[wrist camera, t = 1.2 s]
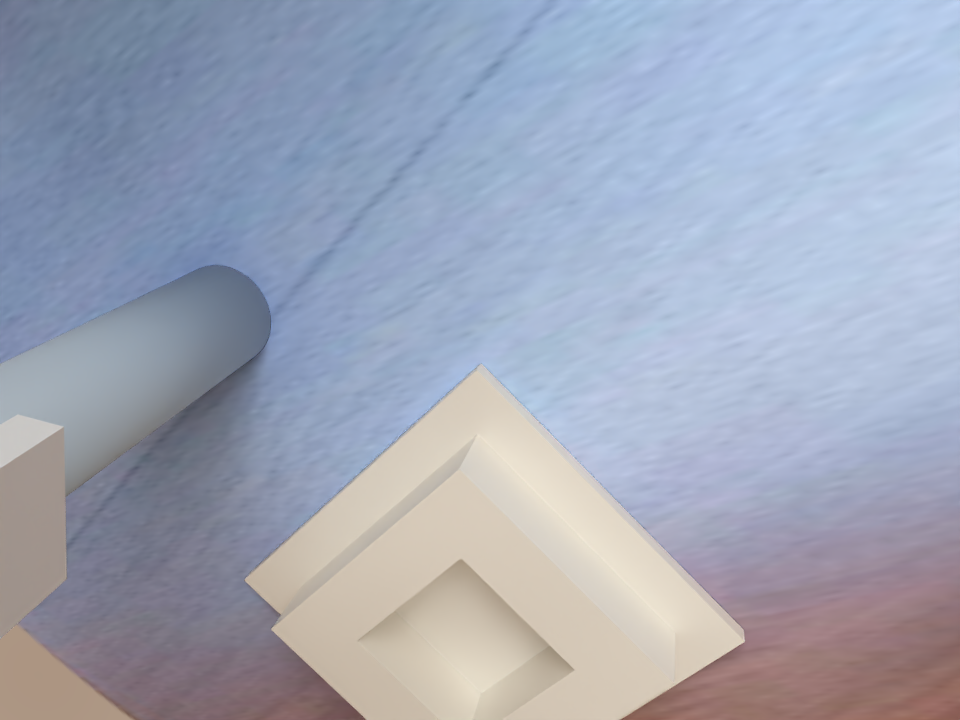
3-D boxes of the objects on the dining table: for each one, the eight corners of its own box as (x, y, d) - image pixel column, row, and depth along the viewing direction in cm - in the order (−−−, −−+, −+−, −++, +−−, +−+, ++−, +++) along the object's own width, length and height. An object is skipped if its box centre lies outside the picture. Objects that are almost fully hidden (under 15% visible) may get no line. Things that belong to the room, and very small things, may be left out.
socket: (251, 570, 43) (210, 621, 39) (480, 363, 37) (457, 399, 33) (485, 793, 44) (467, 861, 41) (743, 630, 38) (749, 693, 34)
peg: (157, 311, 39) (-163, 478, 24) (214, 243, 37) (-92, 380, 23) (230, 382, 39) (-41, 589, 25) (290, 319, 38) (37, 500, 23)
